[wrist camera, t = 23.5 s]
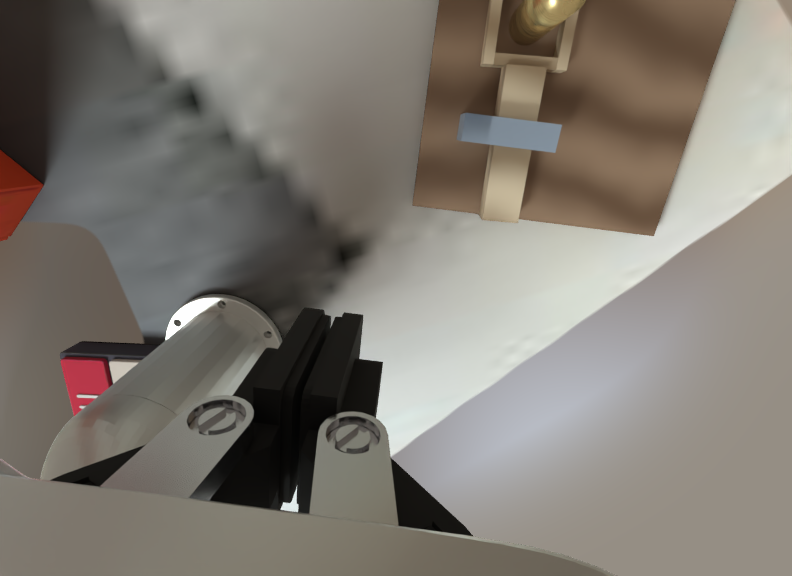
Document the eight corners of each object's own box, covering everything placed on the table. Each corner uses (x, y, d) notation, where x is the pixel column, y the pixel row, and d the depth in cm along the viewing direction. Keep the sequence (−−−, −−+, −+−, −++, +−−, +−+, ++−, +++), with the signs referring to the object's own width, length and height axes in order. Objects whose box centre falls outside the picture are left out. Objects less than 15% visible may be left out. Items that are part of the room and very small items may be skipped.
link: (493, -31, 31) (498, -42, 29) (579, -24, 31) (591, -35, 29) (460, 213, 37) (462, 218, 35) (531, 219, 37) (537, 224, 35)
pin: (505, 43, 33) (536, 13, 24) (512, 1, 32) (547, -45, 23) (540, 47, 33) (583, 18, 24) (549, 6, 32) (596, -39, 23)
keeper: (540, 150, 35) (555, 152, 32) (456, 139, 36) (461, 140, 32) (545, 125, 35) (562, 124, 31) (460, 114, 35) (465, 112, 31)
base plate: (645, 232, 39) (653, 236, 38) (412, 202, 39) (412, 205, 38) (726, -7, 32) (740, -13, 31) (444, -42, 32) (445, -50, 31)
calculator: (155, 359, 43) (175, 478, 47) (178, 341, 47) (194, 452, 51) (52, 355, 43) (81, 473, 48) (83, 338, 47) (108, 448, 52)
